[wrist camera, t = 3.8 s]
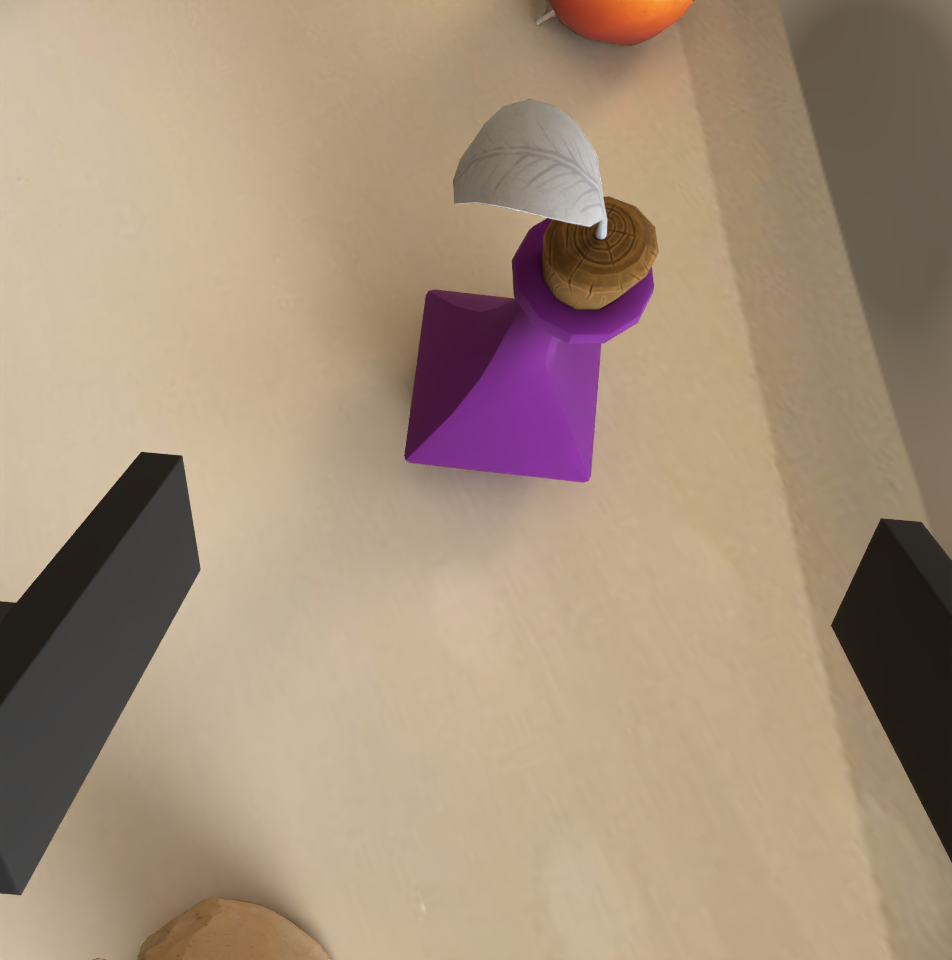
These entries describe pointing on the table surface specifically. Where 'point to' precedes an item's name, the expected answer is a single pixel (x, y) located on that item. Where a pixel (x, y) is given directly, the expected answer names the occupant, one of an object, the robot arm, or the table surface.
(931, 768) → the robot arm
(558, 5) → the fruit
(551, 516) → the table surface
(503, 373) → the perfume bottle
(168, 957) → the figurine
